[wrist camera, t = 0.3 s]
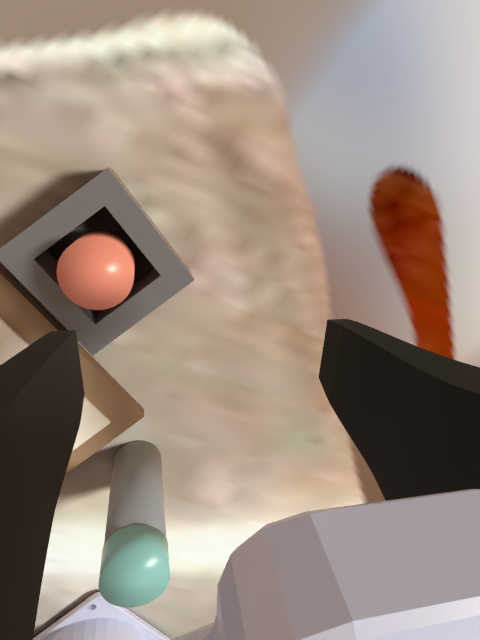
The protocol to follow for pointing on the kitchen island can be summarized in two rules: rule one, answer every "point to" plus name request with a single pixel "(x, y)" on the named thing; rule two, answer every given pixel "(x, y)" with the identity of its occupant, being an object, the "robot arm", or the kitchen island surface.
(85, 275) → the button
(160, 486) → the marker
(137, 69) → the kitchen island surface
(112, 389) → the board
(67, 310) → the button housing
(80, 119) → the kitchen island surface
